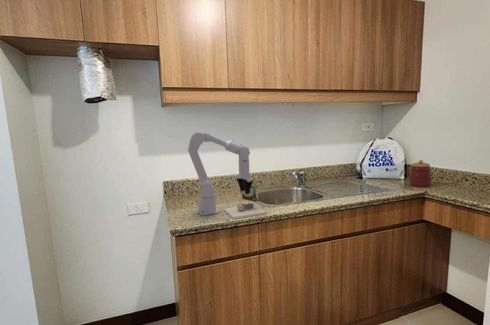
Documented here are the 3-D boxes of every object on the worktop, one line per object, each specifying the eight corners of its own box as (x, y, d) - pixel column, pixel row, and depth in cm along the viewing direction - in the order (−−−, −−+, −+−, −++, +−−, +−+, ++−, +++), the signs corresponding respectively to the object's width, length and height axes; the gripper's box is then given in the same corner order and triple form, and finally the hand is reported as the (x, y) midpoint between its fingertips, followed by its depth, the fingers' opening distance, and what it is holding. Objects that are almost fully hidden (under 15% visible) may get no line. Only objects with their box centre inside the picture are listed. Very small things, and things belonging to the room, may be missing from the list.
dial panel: (233, 219, 135) (233, 217, 135) (224, 210, 150) (224, 208, 150) (266, 214, 141) (266, 211, 141) (254, 206, 156) (254, 204, 156)
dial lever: (238, 211, 142) (238, 205, 142) (236, 209, 146) (236, 204, 145) (254, 209, 145) (254, 203, 145) (251, 207, 149) (251, 201, 148)
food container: (261, 199, 169) (261, 184, 168) (254, 202, 165) (254, 185, 164) (247, 196, 178) (246, 181, 177) (240, 198, 174) (240, 183, 172)
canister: (431, 188, 181) (432, 161, 178) (408, 186, 187) (409, 161, 185) (430, 184, 192) (431, 159, 189) (409, 182, 198) (409, 158, 196)
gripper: (256, 169, 144) (256, 194, 145) (246, 165, 157) (246, 188, 159) (243, 170, 141) (244, 195, 143) (234, 166, 155) (235, 190, 156)
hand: (244, 192), depth 151 cm, fingers open, 7 cm apart
